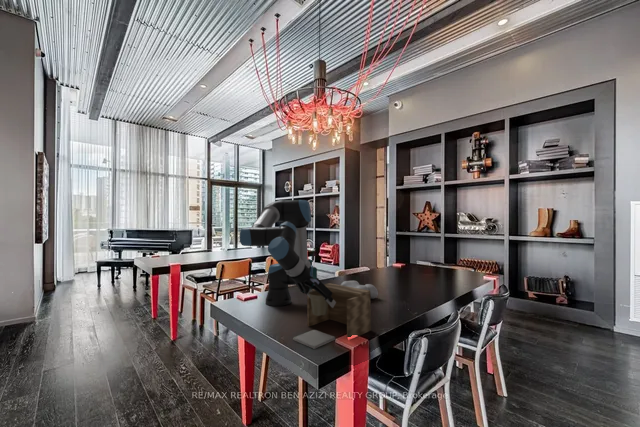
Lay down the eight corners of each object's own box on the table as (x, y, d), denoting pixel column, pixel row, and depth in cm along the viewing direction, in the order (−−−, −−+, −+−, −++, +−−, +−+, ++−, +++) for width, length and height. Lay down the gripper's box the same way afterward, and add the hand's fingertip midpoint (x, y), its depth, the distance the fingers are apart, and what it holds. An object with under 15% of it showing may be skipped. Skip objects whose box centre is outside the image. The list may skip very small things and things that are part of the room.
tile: (314, 348, 106) (314, 346, 106) (293, 340, 115) (293, 337, 115) (335, 339, 115) (335, 336, 115) (314, 331, 123) (314, 329, 123)
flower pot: (331, 310, 123) (331, 290, 124) (330, 317, 114) (330, 295, 114) (310, 310, 124) (310, 290, 125) (307, 317, 115) (307, 295, 115)
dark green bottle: (318, 291, 197) (318, 259, 198) (309, 294, 191) (309, 261, 192) (308, 289, 204) (308, 258, 205) (299, 291, 197) (299, 260, 198)
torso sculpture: (380, 302, 177) (352, 288, 203) (381, 285, 176) (353, 273, 203) (359, 306, 169) (333, 290, 196) (360, 288, 169) (334, 275, 195)
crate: (349, 340, 114) (348, 297, 115) (307, 325, 131) (307, 288, 131) (370, 330, 125) (370, 290, 125) (329, 317, 142) (329, 283, 142)
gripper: (274, 274, 116) (302, 305, 127) (312, 281, 101) (341, 316, 112) (284, 259, 120) (311, 291, 131) (322, 264, 105) (349, 299, 116)
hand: (324, 302), depth 122 cm, fingers closed on flower pot, 9 cm apart
